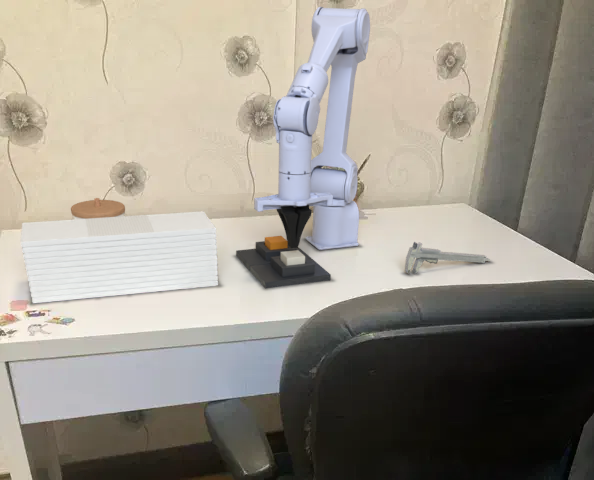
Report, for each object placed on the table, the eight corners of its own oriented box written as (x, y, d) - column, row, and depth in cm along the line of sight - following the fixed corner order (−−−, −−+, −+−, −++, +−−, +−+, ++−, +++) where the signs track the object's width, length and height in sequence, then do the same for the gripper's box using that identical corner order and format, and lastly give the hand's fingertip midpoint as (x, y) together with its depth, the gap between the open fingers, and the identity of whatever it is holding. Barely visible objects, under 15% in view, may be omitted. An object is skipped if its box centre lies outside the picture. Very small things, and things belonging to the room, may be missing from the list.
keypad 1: (295, 249, 139) (295, 235, 137) (311, 264, 132) (312, 249, 130) (236, 256, 135) (235, 241, 133) (249, 271, 127) (249, 256, 126)
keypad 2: (312, 264, 132) (312, 250, 130) (330, 280, 124) (331, 265, 123) (250, 271, 127) (250, 256, 126) (265, 288, 120) (265, 272, 119)
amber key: (281, 243, 134) (281, 235, 133) (287, 249, 131) (287, 241, 130) (264, 245, 133) (264, 237, 132) (270, 251, 130) (270, 242, 129)
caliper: (407, 275, 128) (410, 244, 125) (404, 273, 129) (407, 242, 125) (490, 262, 136) (495, 232, 132) (486, 260, 136) (492, 230, 133)
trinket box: (65, 247, 136) (57, 201, 132) (97, 232, 145) (91, 189, 140) (108, 254, 133) (102, 208, 128) (138, 239, 142) (134, 195, 137)
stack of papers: (32, 303, 112) (20, 241, 106) (33, 280, 120) (22, 222, 115) (218, 285, 121) (215, 227, 115) (206, 265, 129) (203, 211, 124)
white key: (297, 258, 127) (298, 250, 126) (304, 265, 124) (305, 256, 123) (280, 260, 126) (280, 251, 125) (287, 267, 123) (287, 258, 122)
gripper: (263, 179, 110) (263, 257, 117) (341, 173, 115) (337, 249, 122) (250, 169, 116) (250, 244, 123) (325, 165, 121) (322, 237, 128)
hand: (292, 246), depth 123 cm, fingers closed
